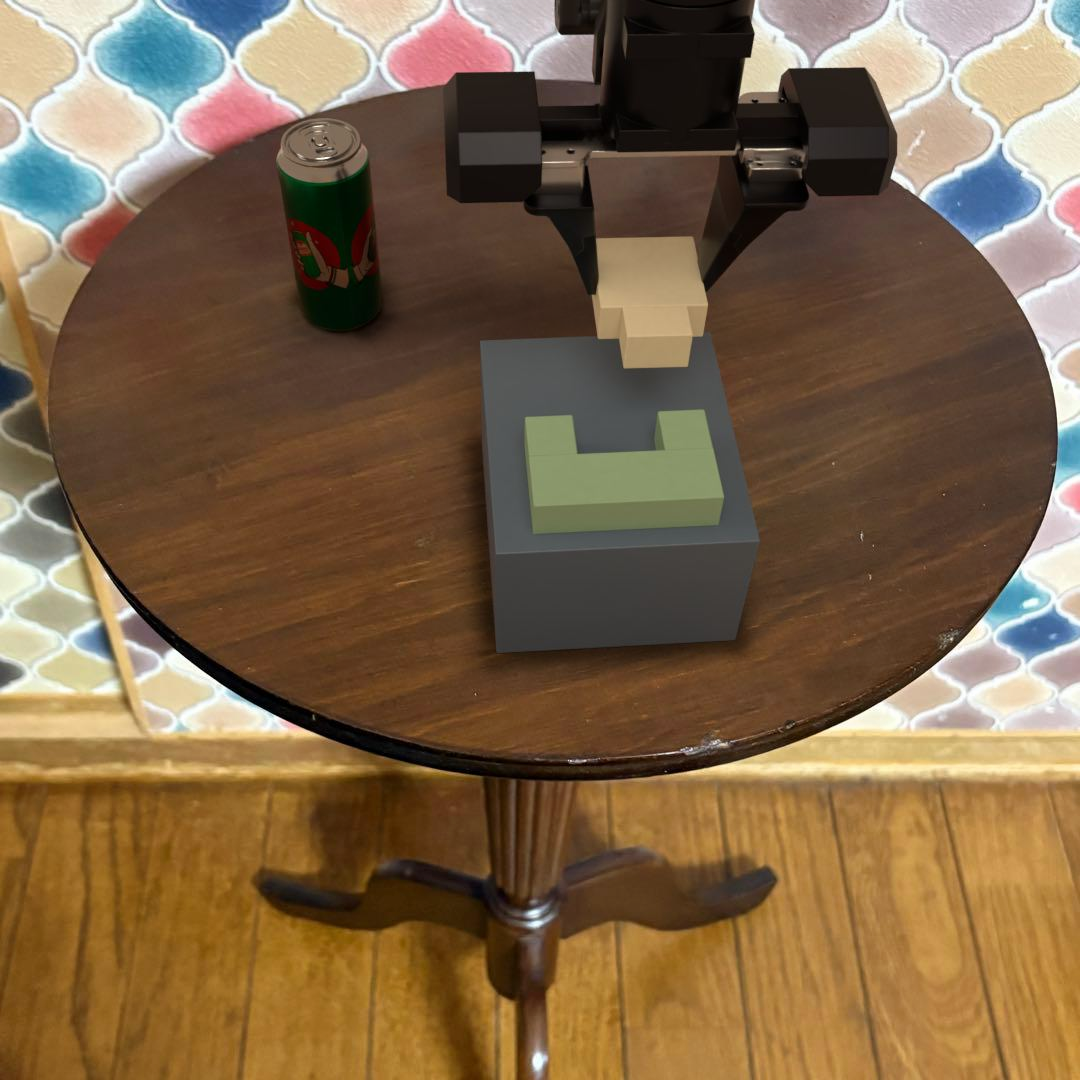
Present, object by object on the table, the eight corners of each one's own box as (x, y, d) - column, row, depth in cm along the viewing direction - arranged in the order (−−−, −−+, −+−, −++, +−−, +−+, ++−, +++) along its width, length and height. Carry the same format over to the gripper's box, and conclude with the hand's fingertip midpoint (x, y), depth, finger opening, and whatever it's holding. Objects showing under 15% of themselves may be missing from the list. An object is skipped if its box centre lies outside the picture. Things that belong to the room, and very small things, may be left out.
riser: (692, 436, 73) (710, 331, 67) (735, 640, 64) (760, 540, 58) (481, 446, 72) (479, 339, 66) (496, 653, 63) (495, 554, 57)
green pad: (699, 437, 62) (704, 408, 60) (718, 525, 58) (724, 497, 57) (524, 445, 61) (524, 416, 60) (532, 534, 58) (533, 506, 56)
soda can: (368, 274, 81) (350, 105, 72) (394, 324, 78) (380, 155, 69) (290, 294, 80) (262, 124, 70) (314, 345, 77) (288, 176, 68)
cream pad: (688, 268, 64) (693, 235, 62) (709, 366, 59) (715, 334, 58) (588, 270, 63) (590, 237, 62) (601, 369, 59) (604, 337, 57)
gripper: (876, -128, 54) (806, 181, 67) (435, -127, 53) (446, 188, 65) (944, 9, 47) (853, 326, 60) (440, 14, 46) (451, 336, 59)
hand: (646, 287), depth 61 cm, fingers closed on cream pad, 5 cm apart
